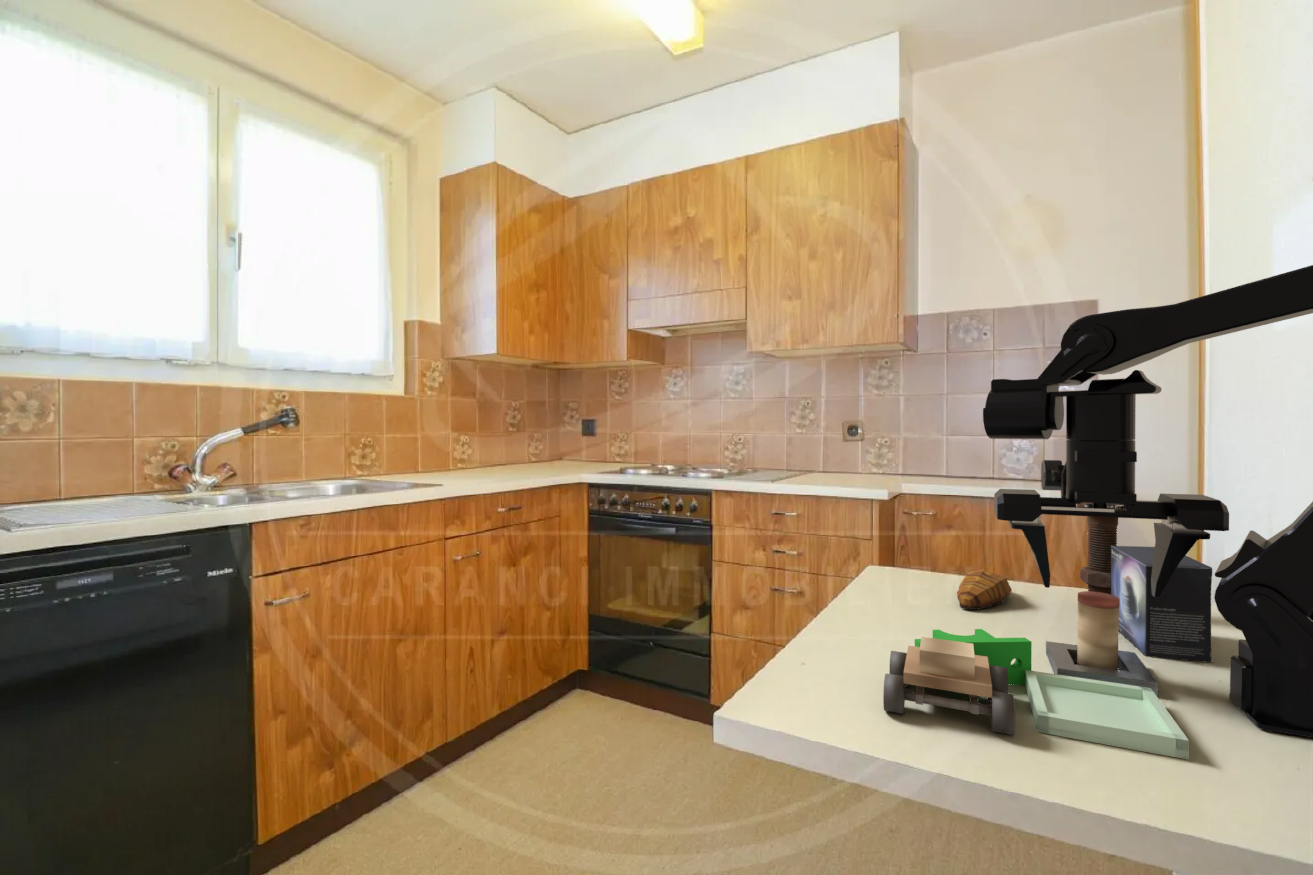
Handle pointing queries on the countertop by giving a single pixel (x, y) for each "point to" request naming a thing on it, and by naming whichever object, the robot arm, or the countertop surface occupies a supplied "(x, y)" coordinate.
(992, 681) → the toy car
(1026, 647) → the pipe clamp
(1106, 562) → the bolt
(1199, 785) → the countertop surface
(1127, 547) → the small box
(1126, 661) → the socket
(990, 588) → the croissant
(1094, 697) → the tray
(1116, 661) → the pin
